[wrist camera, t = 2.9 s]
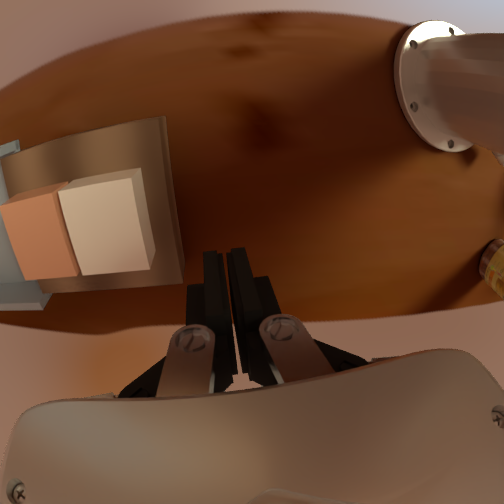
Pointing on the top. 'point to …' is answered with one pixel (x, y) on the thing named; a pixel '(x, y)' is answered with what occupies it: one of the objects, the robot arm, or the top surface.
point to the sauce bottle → (493, 266)
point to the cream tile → (109, 222)
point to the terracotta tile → (40, 233)
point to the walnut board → (101, 162)
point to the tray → (15, 261)
